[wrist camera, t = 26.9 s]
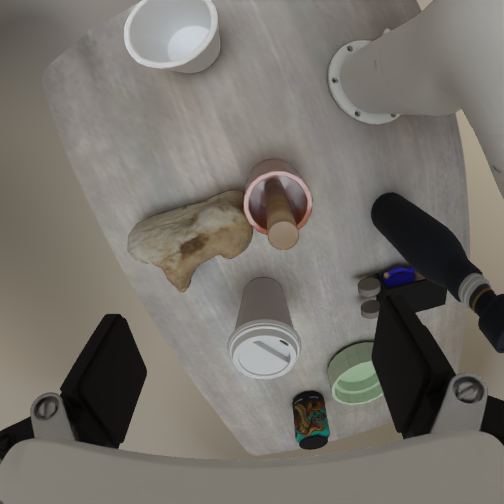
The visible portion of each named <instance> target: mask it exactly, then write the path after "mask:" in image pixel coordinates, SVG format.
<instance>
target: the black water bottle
mask: <svg viewBox="0 0 504 504" xmlns="http://www.w3.org/2000/svg"><path fill="white" fill-rule="evenodd" d="M371 218H372V221H373V224H374V225H375V226H376V228H377V229H378V230H379V231H380V232H381V233H382V234H383V235H384V236H385V237H386V238H387V239H388V241H389V242H390V243H391V244H392V245H393V246H394V247H395V248H396V249H397V250H398V252H399V253H400V254H401V255H402V256H403V257H404V258H405V259H406V261H407V262H408V263H409V264H410V265H411V266H412V267H413V269H414V270H415V271H416V272H418V273H419V274H420V275H422V276H423V277H425V278H426V279H428V280H429V281H431V282H432V283H435V284H437V285H440V286H443V287H445V288H447V289H448V291H449V292H450V293H451V294H452V295H453V296H454V298H455V299H456V300H458V301H459V302H462V303H463V304H464V305H465V307H466V308H468V309H470V310H473V311H474V312H475V313H476V314H478V316H479V317H480V318H479V323H478V325H479V329H480V330H481V331H482V332H483V334H484V335H485V336H486V338H487V339H488V340H489V342H490V343H491V344H492V346H493V347H494V348H495V350H496V351H497V352H499V353H504V294H500V295H498V296H497V295H496V294H495V293H494V291H493V290H492V289H491V286H490V285H489V281H488V280H487V279H485V278H484V276H483V275H482V272H481V271H480V270H479V269H478V268H477V267H476V266H475V265H473V264H472V263H471V262H470V261H469V260H468V258H467V256H466V254H465V251H464V249H463V247H462V245H461V243H460V242H459V240H458V239H457V238H456V236H455V235H454V234H453V233H452V232H451V231H450V230H449V229H448V228H447V227H446V226H444V225H443V224H442V223H440V222H439V221H437V220H436V219H435V218H433V217H432V216H430V215H429V214H427V213H426V212H424V211H423V210H422V209H420V208H419V207H417V206H416V205H414V204H413V203H411V202H410V201H408V200H407V199H405V198H404V197H402V196H400V195H399V194H396V193H386V194H384V195H382V196H380V197H379V198H378V199H377V200H376V202H375V203H374V205H373V208H372V211H371Z"/></svg>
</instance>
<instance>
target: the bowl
mask: <svg viewBox="0 0 504 504" xmlns="http://www.w3.org/2000/svg"><path fill="white" fill-rule="evenodd" d="M373 344H374V342H364V343H359V344H355V345H352V346H350V347H348V348H346V349H344V350H343V351H341V352H340V353H339V354H337V355H336V356H335V357H334V358H333V360H332V361H331V362H330V364H329V367H328V370H327V371H328V379H329V383H330V388H331V392H332V396H333V397H334V399H335V400H336V401H338V402H340V403H342V404H347V405H359V404H363V403H367V402H370V401H372V400H375V399H377V398H379V397H380V396H382V395H383V394H384V393H383V391H382V388H381V385H380V382H379V380H378V377H377V374H376V371H375V369H374V366H373V363H372V358H371V355H372V349H373Z"/></svg>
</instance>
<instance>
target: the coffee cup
mask: <svg viewBox="0 0 504 504" xmlns="http://www.w3.org/2000/svg"><path fill="white" fill-rule="evenodd" d="M300 351H301V339H300V337H299V335H298V333H297V332H296V331H295V330H294V328H293V324H292V321H291V317H290V314H289V310H288V307H287V303H286V300H285V296H284V293H283V290H282V287H281V286H280V284H279V283H278V282H276V281H275V280H273V279H270V278H257V279H254V280H252V281H251V282H249V283H248V284H247V286H246V287H245V289H244V293H243V297H242V301H241V306H240V310H239V314H238V318H237V322H236V326H235V330H234V332H233V333H232V334H231V336H230V338H229V340H228V352H229V356H230V358H231V360H232V362H233V363H234V364H235V366H236V368H237V369H238V370H239V371H240V372H241V373H243V374H244V375H246V376H249V377H252V378H256V379H273V378H277V377H280V376H282V375H284V374H286V373H287V372H288V371H290V370H291V369H292V367H293V366H294V364H295V362H296V361H297V359H298V357H299V355H300Z"/></svg>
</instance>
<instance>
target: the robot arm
mask: <svg viewBox="0 0 504 504" xmlns="http://www.w3.org/2000/svg"><path fill="white" fill-rule="evenodd" d="M347 48H348V49H350V51H348V50H347ZM333 79H334V80H335V83H333V82H332V80H333ZM328 84H329V89H330V91H331V94H332V96H333V98H334V100H335V102H336V103H337V104H338V106H339V107H340V108H341V109H342V110H343V111H344V112H345V113H346V114H347V115H349V116H350V117H352V118H354V119H355V120H358V121H360V122H363V123H368V124H385V123H388V122H391V121H393V120H395V119H397V118H398V117H399V116H400V115H401V114H404V115H421V116H447V115H450V114H453V113H455V112H457V111H458V110H460V109H461V108H462V110H463V112H464V113H465V115H466V117H467V119H468V121H469V123H470V125H471V127H472V128H473V130H474V132H475V134H476V136H477V138H478V140H479V143H480V145H481V147H482V149H483V152H484V154H485V156H486V159H487V161H488V164H489V166H490V169H491V171H492V173H493V176H494V179H495V181H496V184H497V186H498V188H499V190H500V192H501V195H502V196H503V198H504V0H433V1H432V2H431V3H430V4H429V5H428V6H427V7H426V8H425V9H424V10H423V11H422V12H421V13H419V14H418V15H417V16H415V17H414V18H412V19H411V20H409V21H407V22H406V23H404V24H402V25H401V26H399V27H397V28H395V29H393V30H390V29H387V28H386V29H385V30H384V32H383V34H382V36H381V37H379V38H378V39H376V40H374V41H369V40H359V41H354V42H351V43H348V44H346V45H345V46H343V47H342V48H340V49H339V50H338V51H337V52H336V53H335V55H334V56H333V58H332V60H331V62H330V64H329V68H328ZM355 112H357V115H355ZM391 114H392V116H391ZM371 358H372V363H373V366H374V369H375V371H376V374H377V377H378V380H379V382H380V385H381V388H382V391H383V393H384V396H385V399H386V402H387V405H388V408H389V410H390V413H391V416H392V419H393V422H394V425H395V428H396V431H397V432H398V433H400V432H401V433H402V436H403V440H399V441H395V442H391V443H386V444H381V445H376V446H371V447H366V448H360V449H355V450H349V451H343V452H337V453H330V454H323V455H313V456H304V457H293V458H280V459H279V458H278V459H259V460H217V459H195V458H181V457H170V456H160V455H152V454H145V453H137V452H131V451H125V450H119V449H118V448H119V445H120V443H123V441H124V439H125V436H126V433H127V430H128V427H129V424H130V421H131V418H132V415H133V412H134V409H135V407H136V404H137V401H138V398H139V395H140V393H141V389H142V387H143V384H144V381H145V379H146V375H147V370H146V366H145V364H144V362H143V359H142V357H141V355H140V352H139V350H138V348H137V345H136V343H135V341H134V338H133V335H132V333H131V331H130V328H129V325H128V323H127V320H126V319H125V318H123V317H122V316H121V315H120V314H106V315H105V316H104V317H103V319H102V320H101V322H100V324H99V325H98V326H97V328H96V330H95V331H94V333H93V334H92V336H91V337H90V339H89V341H88V342H87V344H86V345H85V347H84V349H83V350H82V352H81V354H80V355H79V357H78V358H77V360H76V362H75V363H74V365H73V367H72V369H71V370H70V372H69V374H68V376H67V378H66V379H65V381H64V382H63V384H62V386H61V388H60V390H61V391H62V393H61V394H60V396H59V395H58V394H56V393H45V394H43V395H41V396H39V397H38V398H37V399H36V400H35V401H34V402H33V404H32V406H31V409H30V414H31V416H30V417H28V418H26V419H24V420H22V421H20V422H18V423H16V424H14V425H12V426H10V427H8V428H6V429H3V430H2V431H0V504H504V401H503V400H500V399H497V398H494V397H491V396H489V395H488V388H487V385H486V383H485V382H484V381H483V379H481V378H480V377H479V376H477V375H475V374H472V373H461V374H458V375H456V374H455V372H454V370H453V369H452V367H451V365H450V364H449V362H448V360H447V359H446V357H445V355H444V354H443V352H442V350H441V349H440V347H439V346H438V344H437V342H436V341H435V339H434V338H433V336H432V334H431V333H430V331H429V330H428V328H427V327H426V326H424V325H423V324H422V323H421V321H420V320H419V318H418V317H417V315H416V314H415V312H414V311H413V309H412V308H411V306H410V305H409V303H408V302H407V300H406V299H405V297H404V296H403V295H402V294H401V293H398V294H391V295H386V297H385V299H384V300H381V302H380V308H379V315H378V321H377V327H376V333H375V338H374V344H373V349H372V355H371ZM411 437H412V438H411Z"/></svg>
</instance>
